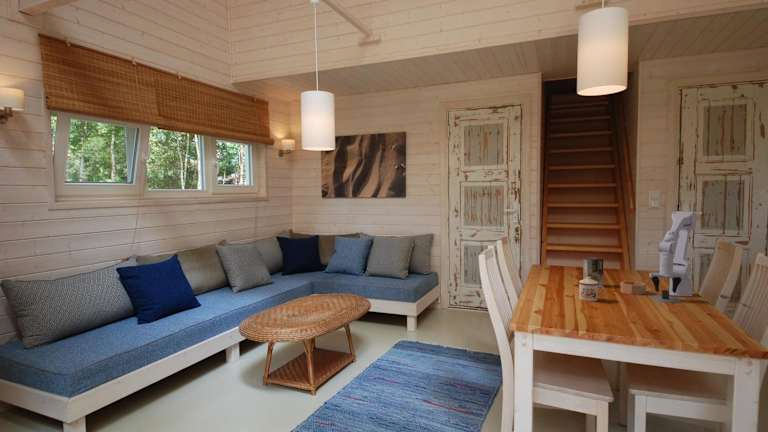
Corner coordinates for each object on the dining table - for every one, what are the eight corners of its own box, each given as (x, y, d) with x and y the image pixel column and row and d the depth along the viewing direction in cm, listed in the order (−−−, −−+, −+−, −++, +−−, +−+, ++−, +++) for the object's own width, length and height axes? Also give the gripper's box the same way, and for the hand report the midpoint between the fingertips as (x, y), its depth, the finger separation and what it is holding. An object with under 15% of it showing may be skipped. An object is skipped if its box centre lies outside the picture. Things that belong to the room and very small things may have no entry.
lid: (674, 297, 224) (674, 288, 224) (685, 304, 212) (686, 294, 211) (646, 296, 227) (646, 287, 227) (655, 302, 215) (656, 293, 214)
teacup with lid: (578, 300, 219) (579, 277, 218) (578, 296, 227) (578, 274, 226) (605, 303, 214) (605, 279, 213) (604, 298, 222) (604, 276, 222)
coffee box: (598, 284, 254) (599, 257, 253) (603, 287, 247) (603, 259, 246) (582, 284, 255) (583, 257, 254) (586, 287, 248) (587, 259, 247)
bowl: (640, 290, 239) (640, 281, 238) (647, 295, 228) (648, 285, 228) (618, 289, 241) (618, 280, 241) (624, 294, 230) (625, 285, 230)
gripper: (653, 266, 216) (652, 293, 217) (686, 267, 213) (685, 294, 213) (648, 263, 223) (647, 289, 224) (680, 264, 220) (679, 291, 220)
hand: (665, 291), depth 219 cm, fingers open, 7 cm apart
